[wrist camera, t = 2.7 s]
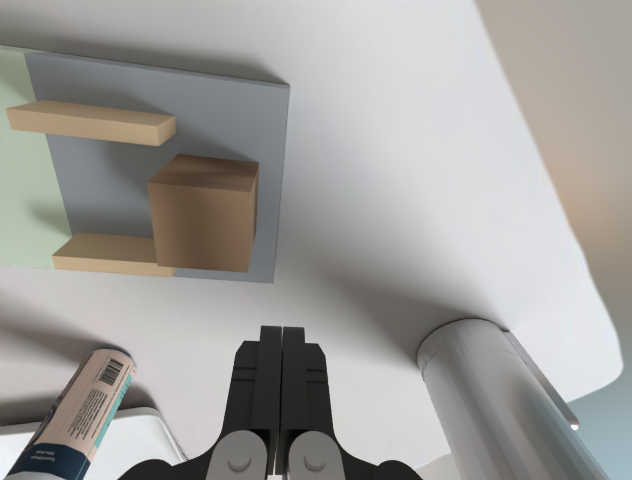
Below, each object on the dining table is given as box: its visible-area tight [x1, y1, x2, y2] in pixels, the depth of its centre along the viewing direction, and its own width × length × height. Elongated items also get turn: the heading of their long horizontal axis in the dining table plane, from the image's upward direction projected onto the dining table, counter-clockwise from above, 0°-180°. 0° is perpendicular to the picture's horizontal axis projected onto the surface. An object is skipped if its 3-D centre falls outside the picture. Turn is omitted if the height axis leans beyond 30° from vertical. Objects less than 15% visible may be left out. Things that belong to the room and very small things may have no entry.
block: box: [147, 154, 259, 273], centre depth 20 cm, size 5×5×5 cm
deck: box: [0, 45, 290, 283], centre depth 21 cm, size 25×14×6 cm, turn 82°
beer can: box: [3, 349, 136, 480], centre depth 28 cm, size 5×5×12 cm
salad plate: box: [0, 407, 187, 480], centre depth 40 cm, size 21×21×3 cm
